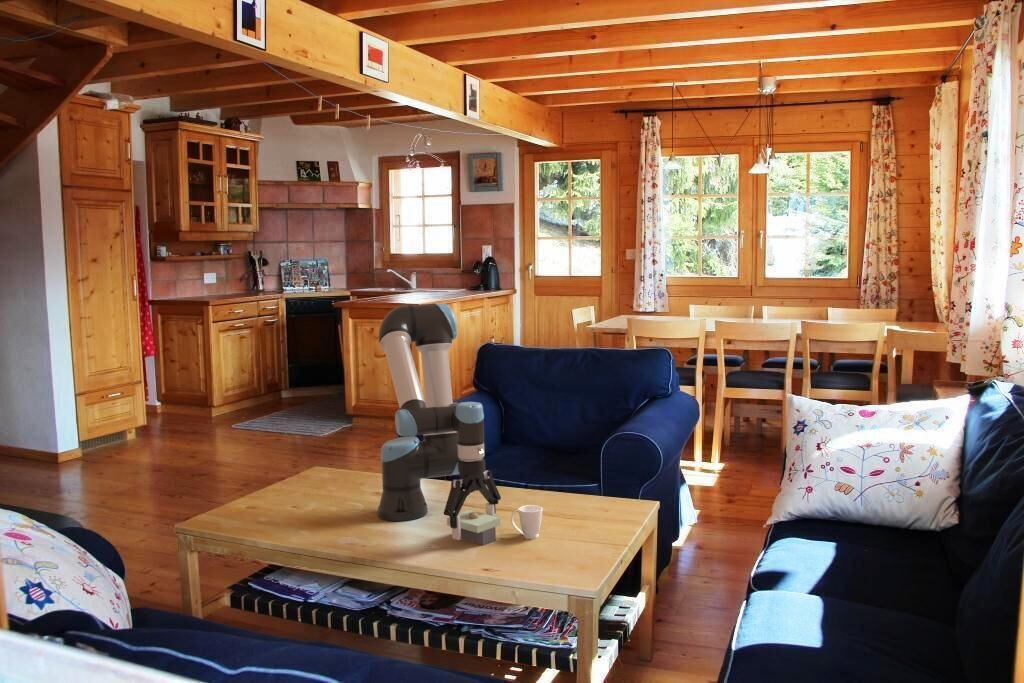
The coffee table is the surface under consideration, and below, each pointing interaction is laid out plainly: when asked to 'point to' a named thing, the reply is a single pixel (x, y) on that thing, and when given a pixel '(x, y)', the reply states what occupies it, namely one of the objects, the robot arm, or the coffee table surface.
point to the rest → (479, 536)
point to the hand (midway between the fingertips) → (474, 532)
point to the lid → (476, 521)
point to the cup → (529, 520)
